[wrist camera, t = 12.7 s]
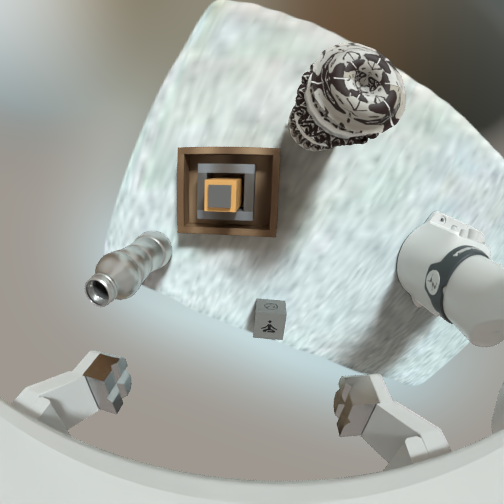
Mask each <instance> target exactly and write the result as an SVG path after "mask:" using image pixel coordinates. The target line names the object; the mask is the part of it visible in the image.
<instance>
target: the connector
mask: <svg viewBox="0 0 504 504" xmlns="http://www.w3.org/2000/svg"><path fill="white" fill-rule="evenodd" d="M242 197H243V178H222V177H217V178H212V179H206V180H205V201H204V211H217V212H236V211H237V210H238V208H239V207H240V206H241V205H242Z"/></svg>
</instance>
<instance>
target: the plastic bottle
mask: <svg viewBox="0 0 504 504" xmlns="http://www.w3.org/2000/svg"><path fill="white" fill-rule="evenodd" d="M171 254H172V246H171V243H170V241H169V239H168V238H167V237H166V236H165V235H164V234H163V233H161V232H158V231H148V232H144V233H142V234H141V235H140V236H138V237H137V238H136V240H135V241H134V242H133V243H132V244H130V245H129V246H127V247H125V248H123V249H121V250H117V251H114V252H111V253H108V254H106V255H104V256H103V257H102V258H101V259H100V261H99V262H98V264H97V266H96V269H95V274H94V275H93V276H92V277H91V278H90V279H89V280H88V281H87V282H86V284H85V293H86V295H87V297H88V299H89V300H90V301H91V302H92V303H93V304H94V305H96V306H99V307H104V306H106V305H108V304H109V303H110V302H112V301H113V300H114V299H118V300H122V299H126V298H129V297H131V296H132V295H134V294H135V293H136V292H137V290H138V289H139V287H140V286H141V284H142V283H143V281H144V280H145V278H146V277H147V276H148V275H149V274H150V273H152V272H153V271H155V270H157V269H159V268H161V267H163V266H164V265H166V264H167V262H168V261H169V259H170V257H171Z"/></svg>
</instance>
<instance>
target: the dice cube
mask: <svg viewBox="0 0 504 504" xmlns="http://www.w3.org/2000/svg"><path fill="white" fill-rule="evenodd" d="M286 315H287V314H286V304H285V301H280V300H268V299H257V302H256V312H255V322H254V333H253V337H255V338H265V339H278V340H283V334H284V328H285V321H286Z"/></svg>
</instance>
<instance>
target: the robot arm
mask: <svg viewBox="0 0 504 504" xmlns="http://www.w3.org/2000/svg"><path fill="white" fill-rule="evenodd" d="M441 218H442V221H440V220H441ZM397 273H398V278H399V281H400V283H401V285H402V286H403V288H404V289H405V290H406V291H407V292H408V293H409V294H410V295H411V297H412V300H413V303H414V305H416V306H417V307H425V308H426V309H427V310H429V311H430V312H431V313H432V314H434V315H435V316H439V315H440V316H441V317H442V318H443V319H444V320H446V321H447V322H449V323H451V324H454V325H455V326H456V327H457V328H458V329H459V330H460V331H461V333H462V334H463V335H464V336H465V337H466V338H467V339H468V340H469V341H470V342H471V343H472V344H473V345H475V346H479V347H491V346H495V345H497V344H499V343H500V342H502V341H503V340H504V266H502V265H500V264H498V263H496V262H494V261H492V260H491V252H490V248H489V247H488V246H487V245H485V239H484V234H483V232H481V231H479V230H478V229H476V228H474V227H471V226H469V225H467V224H465V223H463V222H461V221H459V220H457V219H454V218H452V217H450V216H448V215H445V214H443V213H441V212H439V211H434V212H433V213H432V214H431V215H430V216H429V218H428V219H427V221H426V222H425V223H424V224H423V225H421V226H420V227H418V228H417V229H415V230H414V231H413V232H412V233H411V234H410V235H409V236H408V237H407V239H406V240H405V242H404V244H403V245H402V248H401V250H400V253H399V256H398V262H397ZM126 367H127V362H126V359H124V358H122V357H119V356H115V355H110V354H107V353H102V352H99V351H95V350H91V351H89V353H88V354H87V355H86V356H85V357H84V358H83V360H82V361H81V362H80V363H79V364H78V365H77V367H76V368H75V369H74V370H73V371H72V372H70V371H68V372H66V373H63V374H60V375H58V376H55V377H53V378H50V379H48V380H45V381H42V382H39V383H37V384H34V385H31V386H29V387H26V388H25V389H24V390H23V391H22V392H21V394H20V395H19V396H18V397H17V398H16V399H15V400H14V401H13V403H12V404H10V403H8V402H6V401H5V400H3V399H2V398H0V504H504V382H503V385H502V387H501V389H500V391H499V395H498V398H497V402H496V406H495V409H494V414H493V417H492V423H491V428H492V435H490V436H488V437H486V438H484V439H481V440H479V441H477V442H475V443H472V444H470V445H467V446H465V447H462V448H460V449H457V450H455V451H451V449H450V447H449V445H448V443H447V441H446V439H445V437H444V435H443V433H442V431H441V429H440V428H438V427H437V426H435V425H433V424H432V423H430V422H429V421H427V420H425V419H424V418H422V417H421V416H419V415H418V414H416V413H414V412H413V411H411V410H410V409H408V408H407V407H405V406H404V405H402V404H400V403H399V402H397V401H395V402H394V401H393V399H392V397H391V395H390V393H389V391H388V388H387V386H386V384H385V382H384V380H383V378H382V376H381V374H379V373H377V374H367V375H355V376H342V377H341V378H340V381H339V387H340V389H339V390H338V391H337V392H336V394H335V398H334V412H335V415H336V416H337V417H338V418H339V420H338V422H337V427H338V431H339V436H340V437H344V436H357V435H361V436H362V437H363V439H364V440H365V441H366V442H367V443H368V444H370V446H371V447H373V448H374V449H375V450H376V451H377V452H378V453H379V454H380V455H381V456H382V457H383V458H384V459H385V460H386V461H387V462H388V463H389V464H388V465H387V466H386V468H385V469H384V470H383V471H381V472H376V473H370V474H364V475H358V476H351V477H344V478H334V479H324V480H308V481H255V480H240V479H228V478H219V477H211V476H205V475H198V474H192V473H187V472H181V471H176V470H171V469H167V468H162V467H158V466H154V465H150V464H147V463H143V462H139V461H136V460H133V459H129V458H126V457H123V456H120V455H116V454H114V453H111V452H108V451H105V450H102V449H99V448H97V447H94V446H92V445H89V444H87V443H85V442H82V441H80V440H77V439H75V438H73V437H71V435H70V434H69V432H68V431H67V430H68V429H70V428H71V427H73V426H75V425H76V424H78V423H79V422H81V421H83V420H84V419H86V418H87V417H89V416H91V415H92V414H94V413H95V412H97V411H98V410H99V409H100V410H104V411H107V412H111V413H114V414H117V413H118V412H119V410H120V408H121V406H122V404H123V400H122V398H124V397H126V396H127V395H128V394H129V392H130V389H131V376H130V374H129V373H128V371H127V370H126Z"/></svg>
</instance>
